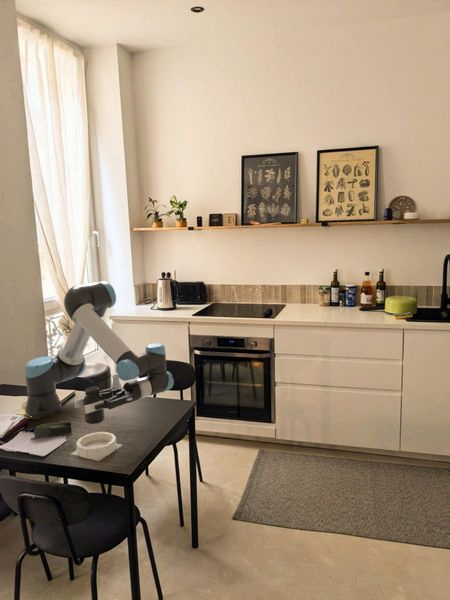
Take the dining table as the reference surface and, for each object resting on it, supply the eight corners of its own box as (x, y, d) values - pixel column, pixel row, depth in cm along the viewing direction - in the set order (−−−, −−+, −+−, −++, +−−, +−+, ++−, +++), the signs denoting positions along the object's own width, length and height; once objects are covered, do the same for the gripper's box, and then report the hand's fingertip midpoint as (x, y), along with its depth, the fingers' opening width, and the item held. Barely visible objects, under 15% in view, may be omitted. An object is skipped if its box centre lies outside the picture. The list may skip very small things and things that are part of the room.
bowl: (69, 453, 168) (68, 444, 167) (95, 438, 179) (95, 429, 179) (98, 461, 161) (97, 451, 161) (123, 444, 173) (122, 435, 173)
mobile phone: (70, 419, 187) (30, 425, 182) (71, 422, 184) (29, 428, 179) (71, 431, 188) (31, 437, 183) (71, 434, 185) (30, 440, 180)
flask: (116, 399, 220) (114, 378, 219) (106, 396, 225) (104, 376, 223) (127, 394, 226) (126, 374, 224) (118, 391, 230) (116, 372, 229)
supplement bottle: (97, 415, 174) (94, 383, 172) (108, 419, 169) (106, 387, 167) (81, 421, 168) (78, 389, 166) (92, 426, 164) (89, 393, 162)
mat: (70, 454, 168) (70, 453, 168) (95, 439, 179) (95, 438, 179) (98, 462, 162) (98, 461, 162) (122, 445, 173) (122, 444, 173)
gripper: (151, 405, 173) (94, 425, 158) (123, 393, 187) (68, 409, 172) (150, 386, 172) (92, 403, 157) (122, 374, 186) (66, 390, 171)
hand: (80, 407), depth 164 cm, fingers closed on supplement bottle, 7 cm apart
